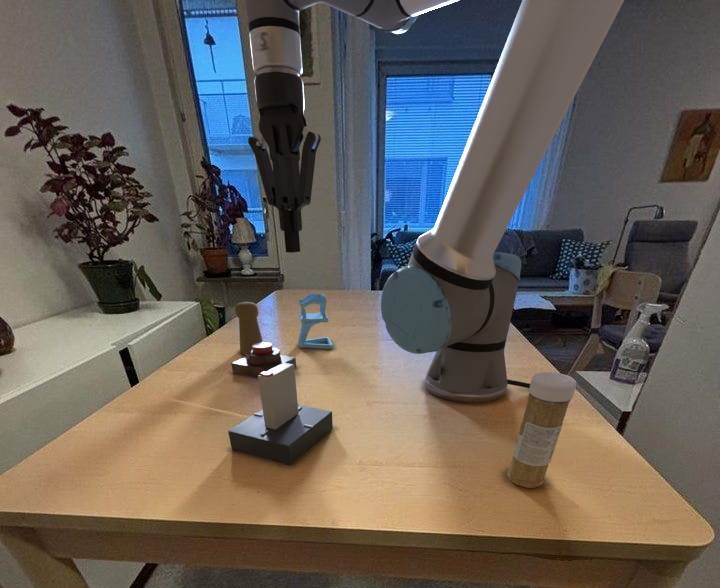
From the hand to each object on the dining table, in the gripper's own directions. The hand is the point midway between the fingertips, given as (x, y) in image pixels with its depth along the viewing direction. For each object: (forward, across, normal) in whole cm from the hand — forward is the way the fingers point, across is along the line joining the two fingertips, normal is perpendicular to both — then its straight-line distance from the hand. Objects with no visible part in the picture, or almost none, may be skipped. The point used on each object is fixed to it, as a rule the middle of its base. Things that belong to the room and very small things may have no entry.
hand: (293, 251), depth 74 cm
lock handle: (+19, +15, -30) cm, 38 cm away
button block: (+22, -6, -5) cm, 23 cm away
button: (+18, -6, -5) cm, 20 cm away
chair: (+22, -6, +16) cm, 28 cm away
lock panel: (+22, +14, -30) cm, 40 cm away
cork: (+22, -17, +5) cm, 28 cm away
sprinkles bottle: (+23, +49, -26) cm, 60 cm away
